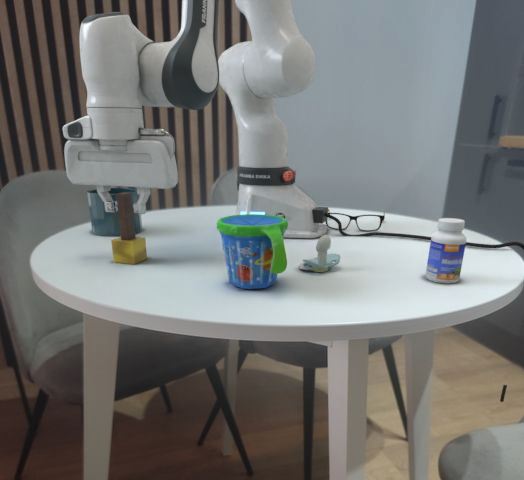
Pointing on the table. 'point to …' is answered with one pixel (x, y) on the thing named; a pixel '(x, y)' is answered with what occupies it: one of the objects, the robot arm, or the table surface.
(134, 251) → the scrubber
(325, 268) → the pacifier
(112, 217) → the canister
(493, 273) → the table surface
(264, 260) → the snack cup
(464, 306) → the table surface
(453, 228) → the pill bottle
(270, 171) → the robot arm
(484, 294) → the table surface
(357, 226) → the eyeglasses
